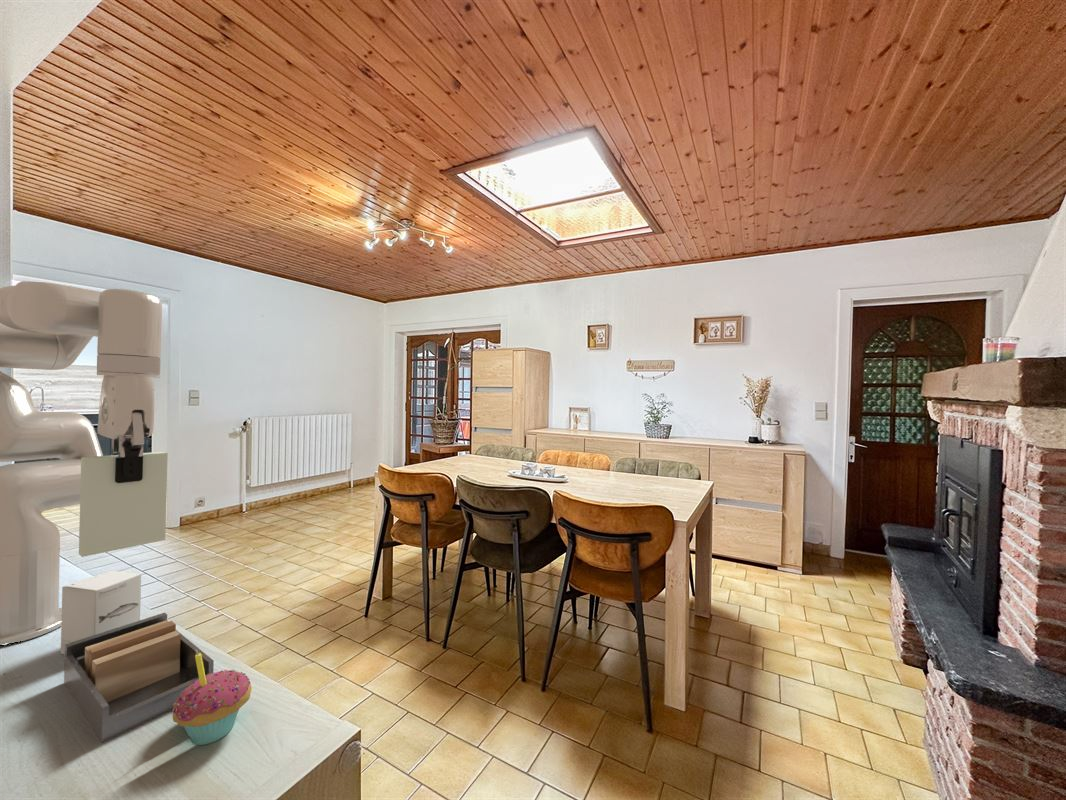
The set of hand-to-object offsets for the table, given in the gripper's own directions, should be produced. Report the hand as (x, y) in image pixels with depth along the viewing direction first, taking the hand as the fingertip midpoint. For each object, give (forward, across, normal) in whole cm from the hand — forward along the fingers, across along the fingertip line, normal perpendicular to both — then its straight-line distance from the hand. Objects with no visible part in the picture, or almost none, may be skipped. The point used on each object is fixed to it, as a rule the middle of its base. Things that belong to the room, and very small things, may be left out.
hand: (126, 479), depth 70 cm
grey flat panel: (+11, 0, 0) cm, 11 cm away
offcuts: (+30, +8, 0) cm, 31 cm away
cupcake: (+31, +27, +3) cm, 41 cm away
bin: (+31, +10, 0) cm, 33 cm away
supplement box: (+32, -10, 0) cm, 33 cm away
